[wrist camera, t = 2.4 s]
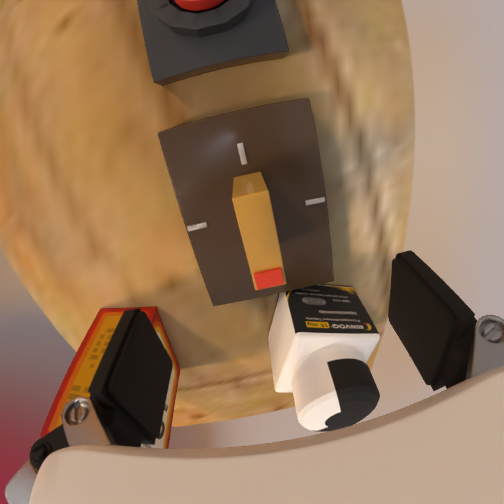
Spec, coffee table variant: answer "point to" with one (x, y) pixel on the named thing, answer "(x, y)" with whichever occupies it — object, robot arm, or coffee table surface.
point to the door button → (198, 4)
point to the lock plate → (279, 186)
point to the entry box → (209, 37)
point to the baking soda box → (89, 360)
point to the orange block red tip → (258, 230)
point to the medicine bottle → (324, 355)
